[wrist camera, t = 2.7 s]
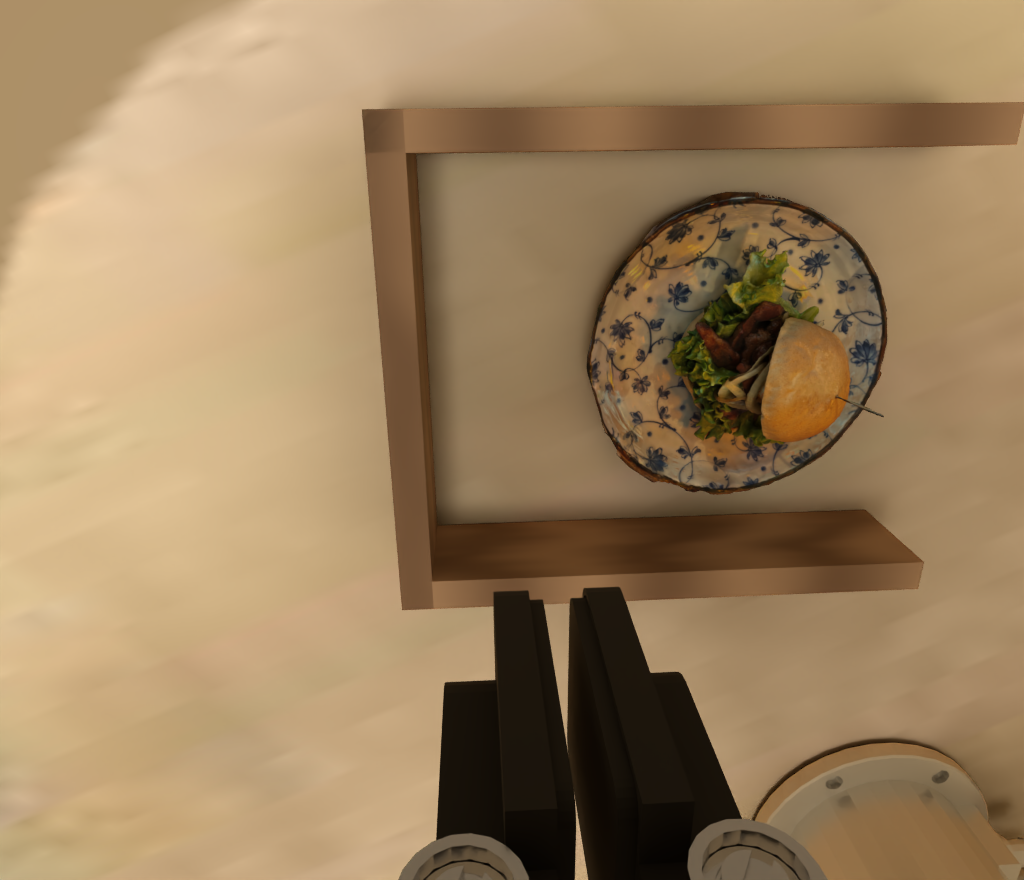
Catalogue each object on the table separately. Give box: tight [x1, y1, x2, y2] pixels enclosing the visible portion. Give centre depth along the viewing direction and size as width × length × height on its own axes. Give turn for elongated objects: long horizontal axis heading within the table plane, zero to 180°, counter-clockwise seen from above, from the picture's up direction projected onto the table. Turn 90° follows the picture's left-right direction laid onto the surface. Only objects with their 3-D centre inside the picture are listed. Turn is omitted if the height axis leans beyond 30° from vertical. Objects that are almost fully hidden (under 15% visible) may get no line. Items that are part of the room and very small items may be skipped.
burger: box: [587, 192, 887, 495], centre depth 26 cm, size 12×12×8 cm
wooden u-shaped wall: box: [362, 102, 1024, 610], centre depth 27 cm, size 20×17×4 cm
